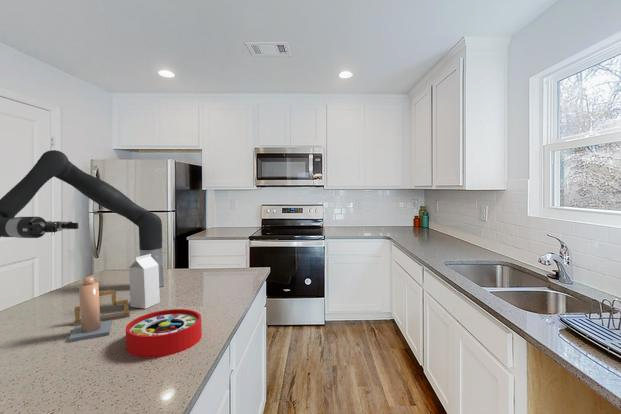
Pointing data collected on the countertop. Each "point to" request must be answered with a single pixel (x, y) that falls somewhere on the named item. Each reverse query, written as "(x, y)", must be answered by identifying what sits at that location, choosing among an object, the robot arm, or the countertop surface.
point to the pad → (79, 335)
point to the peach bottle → (89, 305)
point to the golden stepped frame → (110, 316)
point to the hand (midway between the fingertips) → (67, 227)
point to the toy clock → (163, 333)
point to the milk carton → (144, 282)
